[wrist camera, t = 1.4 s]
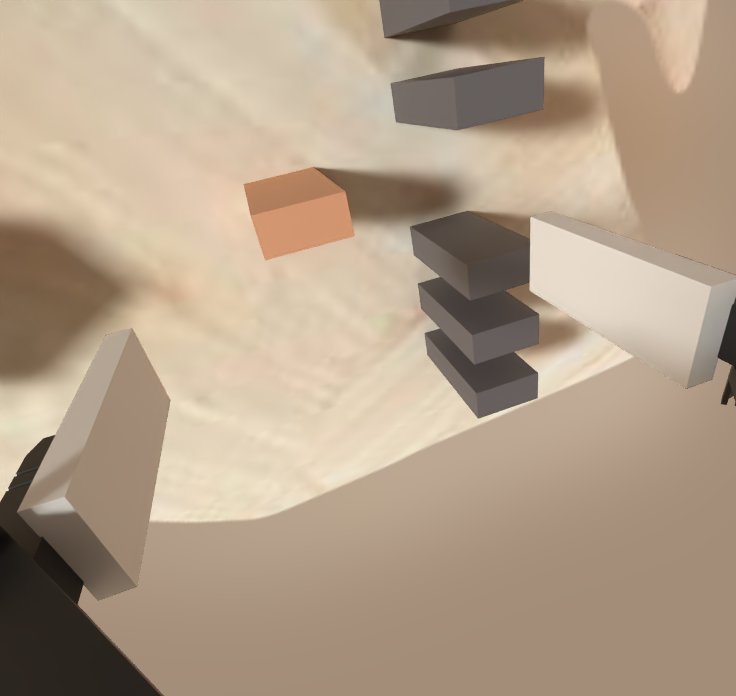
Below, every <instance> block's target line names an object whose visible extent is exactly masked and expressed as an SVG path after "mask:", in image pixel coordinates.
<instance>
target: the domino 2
mask: <svg viewBox="0 0 736 696" xmlns="http://www.w3.org/2000/svg"><path fill="white" fill-rule="evenodd" d="M520 1H523V0H380V8H381V15H382V22H383V30H384V37H385V38H387V37H391V36H396V35H401V34H406V33H411V32H415V31H420V30H425V29H430V28H435V27H439V26H444V25H449V24H454V23H457V22H460V21H463V20H466V19H469V18H472V17H475V16H478V15H481V14H484V13H487V12H490V11H493V10H496V9H499V8H502V7H505V6H508V5H511V4H514V3H517V2H520Z"/></svg>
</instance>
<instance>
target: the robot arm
mask: <svg viewBox="0 0 736 696" xmlns="http://www.w3.org/2000/svg"><path fill="white" fill-rule="evenodd" d="M530 291H531V292H533V293H534V294H536V295H537V296H539V297H540V298H542V299H544V300H545V301H547V302H548V303H550V304H552V305H553V306H555V307H556V308H558V309H560V310H561V311H563V312H564V313H566V314H567V315H569V316H571V317H572V318H574V319H575V320H577V321H579V322H580V323H582V324H583V325H585V326H587V327H588V328H590V329H591V330H593V331H594V332H596V333H598V334H599V335H601V336H602V337H604V338H606V339H607V340H609V341H610V342H612V343H614V344H615V345H617V346H618V347H620V348H621V349H623V350H625V351H626V352H628V353H629V354H631V355H633V356H634V357H636V358H637V359H639V360H641V361H642V362H644V363H645V364H647V365H648V366H650V367H652V368H653V369H655V370H657V371H658V372H660V373H661V374H663V375H664V376H666V377H668V378H669V379H671V380H672V381H674V382H676V383H677V384H679V385H680V386H682V387H683V388H685V389H688V388H691V387H693V386H696V385H699V384H702V383H704V382H707V381H710V380H712V379H713V375H714V372H715V368H716V365H717V361H718V358H720V359H721V360H723V361H725V362H728V363H729V364H731V365H732V367H731V370H730V373H729V376H728V379H727V383H726V386H725V390H724V393H723V396H722V400H721V404H724V405H726V404H727V402H728V399H729V398H731V397H732V396H734V399H735V402H736V275H735V274H731V273H729V272H726V271H723V270H720V269H717V268H714V267H711V266H708V265H706V264H703V263H700V262H696V261H694V260H691V259H688V258H685V257H683V256H680V255H677V254H673V253H670V252H667V251H664V250H662V249H658V248H656V247H653V246H650V245H647V244H644V243H641V242H638V241H635V240H633V239H630V238H627V237H624V236H621V235H618V234H615V233H612V232H609V231H607V230H604V229H601V228H598V227H595V226H592V225H589V224H586V223H583V222H581V221H578V220H575V219H572V218H569V217H566V216H563V215H560V214H557V213H554V212H552V211H550V212H546V213H543V214H539V215H535V216H532V217H531V219H530ZM169 405H170V398H169V397H168V395H167V393H166V391H165V389H164V387H163V385H162V383H161V381H160V380H159V378H158V376H157V374H156V372H155V370H154V368H153V366H152V364H151V363H150V361H149V359H148V357H147V355H146V353H145V351H144V349H143V347H142V346H141V344H140V342H139V340H138V338H137V336H136V334H135V332H134V331H133V329H132V328H130V329H126V330H123V331H119V332H116V333H112V334H108V335H105V337H104V339H103V341H102V343H101V345H100V347H99V349H98V351H97V353H96V355H95V357H94V359H93V361H92V363H91V365H90V367H89V369H88V371H87V373H86V375H85V377H84V379H83V381H82V383H81V385H80V387H79V389H78V391H77V393H76V395H75V397H74V399H73V401H72V403H71V405H70V407H69V409H68V411H67V413H66V415H65V417H64V419H63V421H62V423H61V425H60V427H59V429H58V431H57V433H56V435H53V436H50V437H47V438H43V439H42V440H41V441H40V442H39V443H38V444H37V445H36V446H35V447H34V448H33V449H32V450H31V451H30V452H29V453H28V454H27V455H26V457H25V458H24V460H23V462H22V464H21V466H20V468H19V469H18V471H17V473H16V474H17V476H16V477H14V478H13V480H12V482H11V484H10V486H9V487H8V488H9V491H6V493H5V495H4V496H3V498H2V500H1V502H0V696H164V695H163V694H162V693H161V692H160V691H159V690H158V689H157V688H156V687H155V686H154V685H153V684H152V683H151V682H150V681H149V680H148V679H147V677H145V675H144V674H143V673H142V672H141V671H140V670H139V669H138V668H137V667H136V666H135V665H134V664H133V663H132V662H131V661H130V660H129V659H128V657H127V656H126V655H125V654H124V653H123V652H122V651H121V650H120V649H119V648H118V647H117V646H116V645H115V644H114V643H113V642H112V641H111V640H110V639H109V637H108V636H107V635H106V634H105V633H104V632H103V631H102V630H101V629H100V628H99V627H98V626H97V625H96V624H95V623H94V622H93V621H92V619H91V618H90V617H89V616H88V615H87V614H86V613H85V612H84V611H83V610H82V609H81V608H80V607H79V606H78V605H77V604H78V601H79V597H80V594H81V591H82V587H83V585H84V586H85V587H86V588H87V589H88V590H89V591H90V592H91V593H92V595H93V596H94V597H95V598H96V599H97V600H98V601H99V600H102V599H105V598H107V597H110V596H113V595H116V594H118V593H121V592H124V591H127V590H130V589H132V588H135V587H137V585H138V580H139V574H140V569H141V563H142V557H143V552H144V546H145V540H146V534H147V529H148V524H149V518H150V512H151V507H152V501H153V495H154V490H155V484H156V479H157V473H158V467H159V462H160V456H161V450H162V445H163V439H164V433H165V428H166V422H167V417H168V411H169ZM735 406H736V403H735Z"/></svg>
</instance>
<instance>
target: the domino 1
mask: <svg viewBox="0 0 736 696" xmlns="http://www.w3.org/2000/svg"><path fill="white" fill-rule="evenodd" d="M244 188H245V192H246V196H247V201H248V205H249V210H250V214H251V218H252V221H253V224H254V227H255V230H256V233H257V236H258V240H259V243H260V246H261V249H262V252H263V255H264V258H265V260H268V259H272V258H275V257H279V256H283V255H287V254H290V253H294V252H298V251H301V250H305V249H309V248H312V247H316V246H320V245H323V244H327V243H331V242H334V241H338V240H342V239H345V238H349V237H353V236H354V231H353V226H352V221H351V216H350V211H349V207H348V202H347V197H346V192H345V191H344V190H343V189H342V188H340V187H339V186H338V185H336V184H335V183H334V182H332V181H331V180H330V179H328V178H327V177H326V176H324V175H323V174H322V173H320V172H319V171H318V170H316V169H315V168H314V167H313V168H309V169H305V170H300V171H296V172H292V173H288V174H284V175H280V176H276V177H272V178H268V179H264V180H260V181H256V182H252V183H247V184H244Z"/></svg>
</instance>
